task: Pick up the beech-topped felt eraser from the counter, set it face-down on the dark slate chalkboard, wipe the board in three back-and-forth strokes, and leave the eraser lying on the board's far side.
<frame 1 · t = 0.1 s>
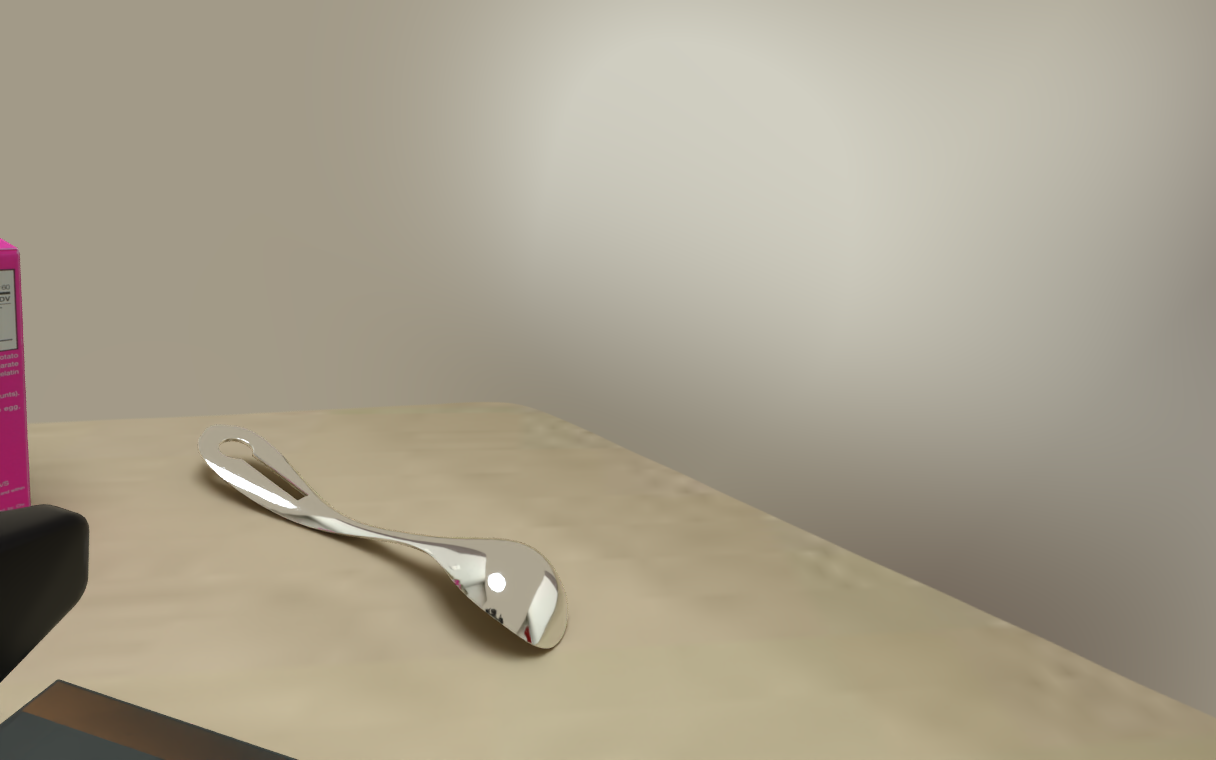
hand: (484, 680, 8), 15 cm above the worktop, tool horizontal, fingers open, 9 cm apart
metal serving spoon: (366, 547, 33), on the worktop
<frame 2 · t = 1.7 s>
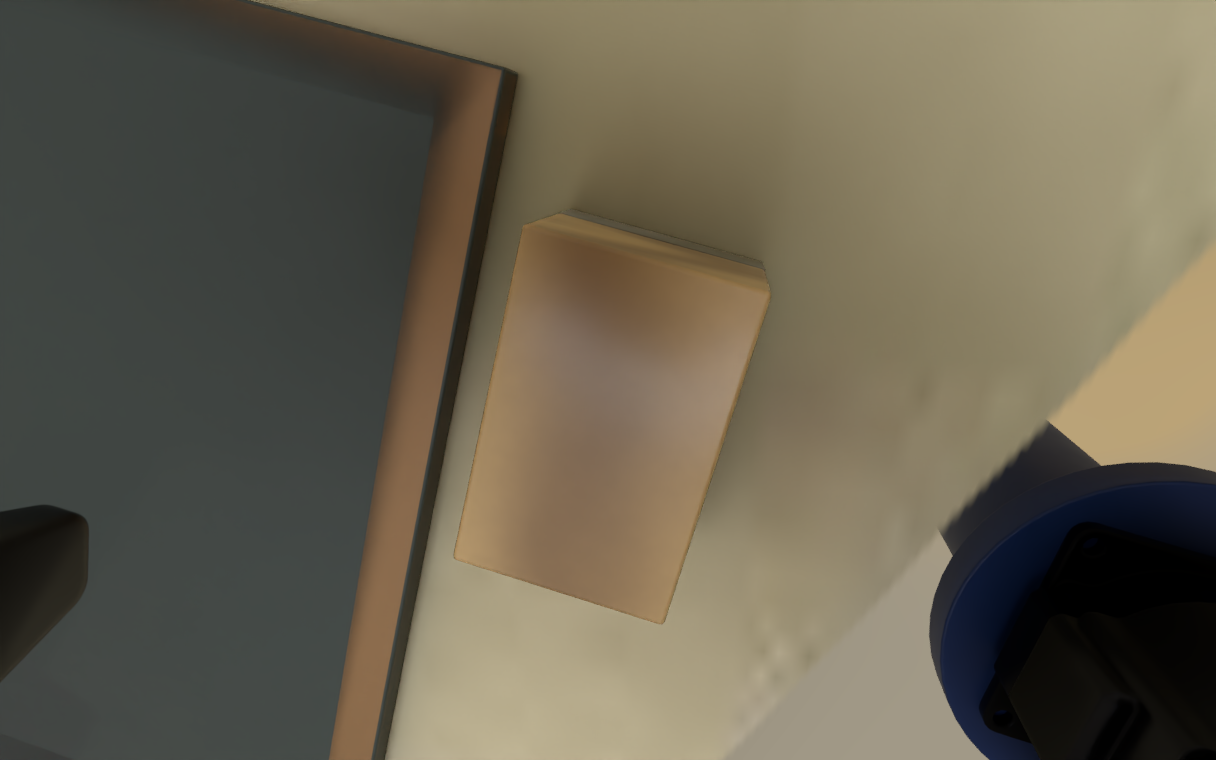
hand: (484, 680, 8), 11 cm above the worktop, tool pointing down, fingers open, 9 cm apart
chalkboard: (155, 456, 20), on the worktop
eraser: (626, 378, 18), on the worktop
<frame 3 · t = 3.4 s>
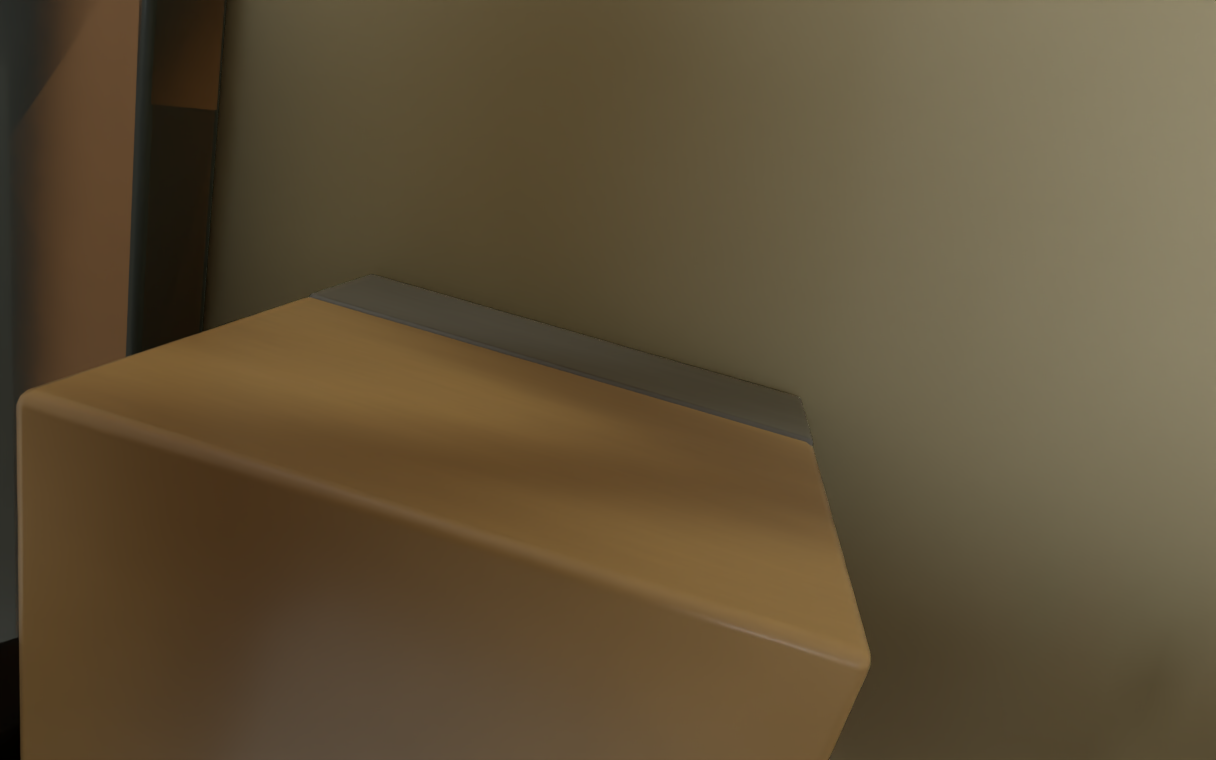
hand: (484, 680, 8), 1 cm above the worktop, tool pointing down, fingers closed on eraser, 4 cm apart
eraser: (510, 619, 8), on the worktop, touching gripper
when the fingers open (2 cm above the worktop, at t = 17.3 s): eraser stays where it is, resting on chalkboard.
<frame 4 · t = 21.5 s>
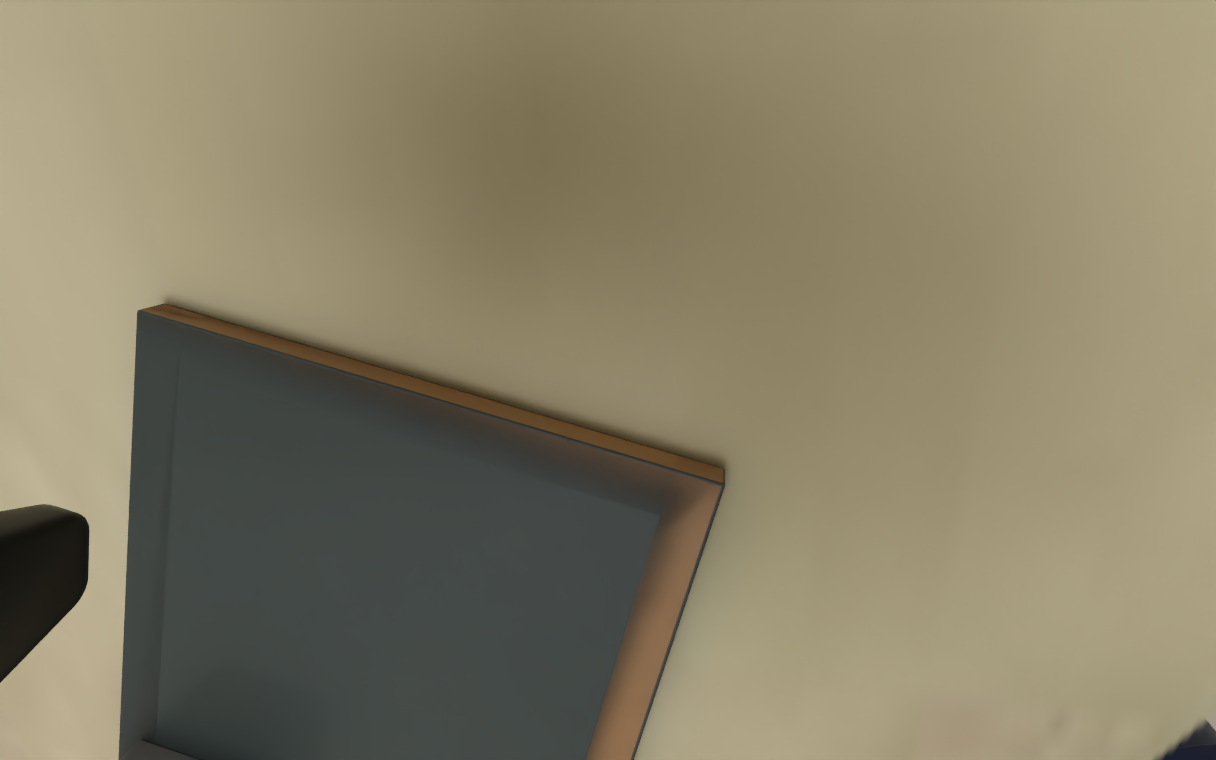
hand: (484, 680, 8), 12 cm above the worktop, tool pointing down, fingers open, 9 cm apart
chalkboard: (373, 727, 24), on the worktop
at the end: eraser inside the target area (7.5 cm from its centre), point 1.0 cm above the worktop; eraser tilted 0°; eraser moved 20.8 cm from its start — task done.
